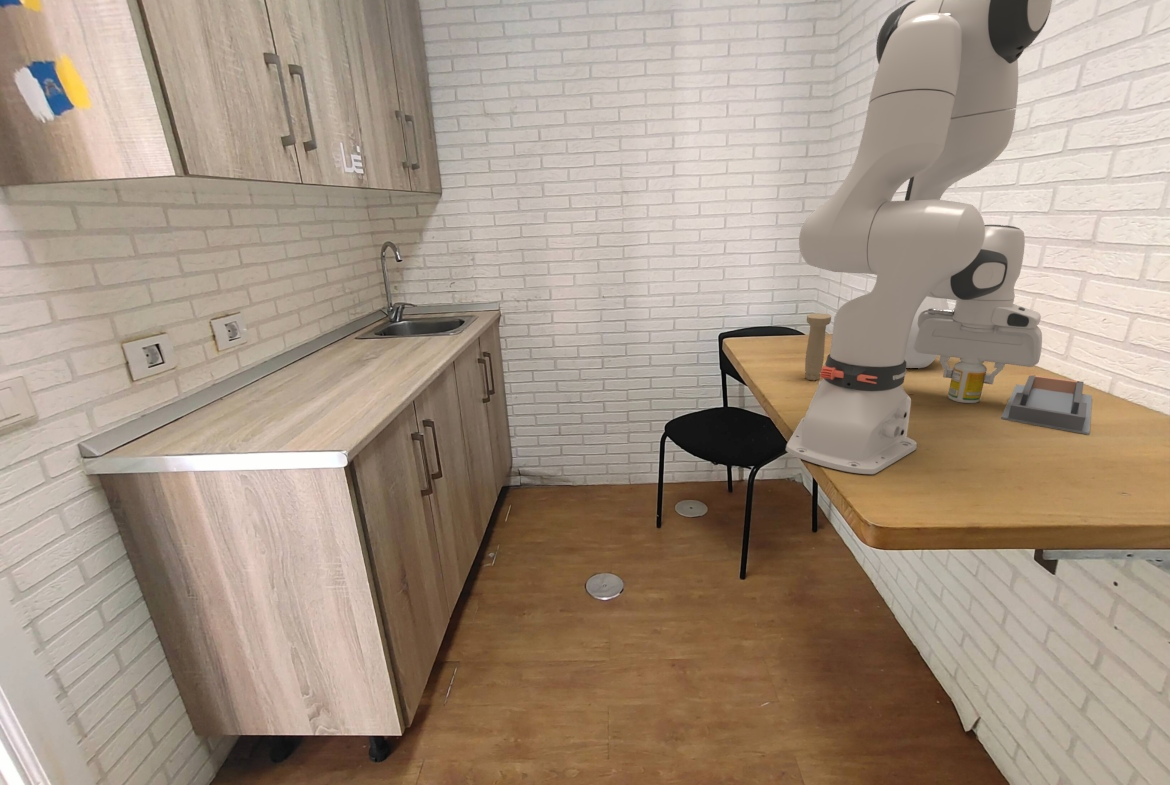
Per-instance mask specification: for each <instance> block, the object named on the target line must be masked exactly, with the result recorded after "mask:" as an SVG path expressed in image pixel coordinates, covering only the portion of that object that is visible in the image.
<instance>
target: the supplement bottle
mask: <svg viewBox="0 0 1170 785" xmlns="http://www.w3.org/2000/svg"><path fill="white" fill-rule="evenodd" d="M959 360H960V361H958V362H956V363H955V364H954V365H953V368H954V369H953V374H952V378H950V379H951V380H950V383H949V384H950V385H949V387H948V393H947V397H948V399H950V400H951V401H954V402H958V403H962V404H976V403H979V401H980V400H981V396H982V392H983V388H984V384H985V383H983V381H984V377H985V374H986V373H987V370H988V369H987V367H986V366H985V365H984V364H983V363H985V361H979V360H978V358H977V357H974V356H966V357H965V358H959Z"/></svg>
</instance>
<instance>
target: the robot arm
mask: <svg viewBox="0 0 1170 785" xmlns="http://www.w3.org/2000/svg"><path fill="white" fill-rule="evenodd" d="M1052 3H1053V0H910V1H909V2H907V3H905V4H903V5H901V6H900V7H898V8H896V9H895V10H894V11H893V12H891V13H890V14H888V16H887V18H886V20H885V21H884V23H883V24H882V26H881V28H880V29H879V32H878V36H877V39H876V48H875V51H876V60H877V63H878V66H877V70H876V74H875V77H874V81H873V85H872V89H871V93H870V98H869V102H868V106H867V111H866V117H865V121H864V127H863V130H862V135H861V140H860V144H859V148H858V151H857V153H856V154H857V155H856V157H855V160H854V163H853V165H852V167H851V169H850V171H849V172H848V174H847V176H846V178H845V179H844V181H843V182H842V183H841V185H840V186H839V187H838V188H837V189H836V191H835V192H834V194H833V195H832V196H831V197H830V198H829V199H827V201H825V202H824V203H823V204H821V205H820V206H819V207H817V208H816V209H815V210H814V211H812V212H811V213H810V214H809V215H808V217H807V218H806V220H805V221H804V223H803V224H802V227H801V228H800V233H799V237H798V245H799V252H800V254H801V257H802V258H803V260H804V261H805V263H806V264H807V265H809V266H812V267H815V268H818V269H822V270H826V271H830V272H833V273H848V274H865V275H868V274H869V275H875V276H876V280H875V284H874V287H873V288H872V290H871V291H870V292H869V293H866V294H863V295H860V296H857V297H855V298H853V299H851V300H849V301H847V302H845V303H844V304H842V306H840V307H839V308H838V310H837V311H836V313H835V315H834V318H833V326H832V333H831V334H832V335H831V344H830V351H829V354H828V355H827V356H826V360H825V362H824V365H823V366H822V370H821V373H820V374H821V376H820V379H821V380H820V381H818V385H817V387H816V390H815V393H814V395H813V397H812V398H811V401H810V404H809V406H808V408H807V410H806V413H805V416H803V417H802V418H801V419H800V420H799V423H798V425H797V426H796V427H795V429H794V431H793V433H792V435H791V437H790V438H789V440H788V441H787V443H786V445H785V451H786V452H787V453H789V454H790V455H792V456H794V457H796V458H798V459H801V460H803V461H805V462H809V463H812V464H816V465H819V466H822V467H826V468H829V469H834V470H838V471H841V472H847V473H852V474H853V473H854V474H862V475H876V474H877V473H879V472H881V471H882V470H884V469H886V468H887V467H889V466H891V465H893V464H894V463H896V462H897V461H899V460H901V459H902V458H904V457H905V456H907V455H909V454H911V453H913V452H914V451H916V450H917V445H918V442H917V441H916V440H914V439H913V438H910V437H909V436H908V430H909V423H910V422H909V421H910V415H911V414H910V413H911V405H912V399H911V397H910V396H909V395H908V394H907V392H906V391H905V389H904V387H903V384H904V382H905V379H906V378H905V377H906V374H907V369H906V361H905V360H904V358H905V352H906V347H907V342H908V337H909V333H910V329H911V326H912V322H913V319H914V316H915V314H916V312H917V310H918V308H919V306H920V305H921V303H922V302H923V300H924V299H925V298H926V297H934V298H944V299H947V300H953V301H955V305H954V308H955V310H953V309H949V310H945V309H944V310H939V309H928V310H925V311H923V312H921V313H920V315H919V317H918V323H917V324H918V327H919V328H920V329H919V331H918V334H917V337H916V340H915V344H914V349H915V350H916V352H917V353H923V354H931V355H938V356H939V362H940V365H941V367H942V369H943V374H942V377H943V378H947V379H951V378H952V374H953V369H954V367H950V366H949V360H950V358H956V359H960V358H965V357H966V356H974V357H977V358H978V360H979V361H984V362H986V363H994V366H993V367H994V370H993V371H992V372H991V373H989V372H986V374H985V377H984V381H983V383H984V384H986V385H993V384H994V381H995V377H996V376H997V375H998V374H999V373H1000V372H1001V371H1003V369H1004V368H1005V366H1006V365H1012V366H1019V367H1020V366H1021V367H1027V368H1032V367H1034V366H1036V365H1038V363H1039V362H1040V359H1041V354H1042V348H1043V333H1042V329H1041V328H1040V327H1039V326H1038V325H1039V324H1040V322H1041V317H1042V316H1041V313H1039V312H1038V311H1036V310H1033V309H1029V308H1026V307H1023V306H1020V305H1017V304H1016V303H1015V304H1014V301H1015V284H1016V283H1017V282H1018V281H1017V280H1018V279H1019V277H1020V275H1021V270H1022V266H1023V260H1024V253H1025V247H1026V246H1025V242H1026V241H1025V232H1024V231H1023V230H1022V229H1021V228H1020V227H1016V226H1012V225H1003V224H985V222H984V219H983V217H982V215H981V213H980V210H978V209H977V208H976V207H975V206H974V205H973V204H970V203H964V202H960V201H958V202H957V201H952V200H951V201H950V200H945V199H944V200H943V199H941V198H942V196H943V195H944V193H945V192H946V191H947V190H948V189H949V188H950V187H951V186H953V185H954V184H956V183H957V182H958V181H961V180H964V179H965V178H967V177H969V176H971V175H973V174H976V173H977V172H979V171H981V170H983V169H984V168H985V167H987V166H989V165H991V163H993V162H994V161H995V160H996V159H998V157H999V156H1000V155H1001V154H1002V153H1003V152H1004V151H1005V150H1006V148H1007V147H1008V145H1009V143H1010V140H1011V137H1012V134H1013V131H1014V128H1015V127H1014V126H1015V119H1016V113H1017V112H1016V111H1017V104H1018V103H1017V102H1018V92H1019V90H1018V89H1019V62H1018V61H1019V60H1018V59H1019V58H1020V57H1021V55H1022V54H1023V52H1024V51H1025V50H1026V49H1027V48H1029V46H1030V45H1032V44H1033V42H1034V41H1035V40H1036V39H1037V37H1038V36H1039V35H1040V33H1041V32H1042V30H1043V29H1044V27H1045V26H1046V23H1047V21H1048V19H1049V16H1050V12H1051V9H1052ZM908 180H909V181H908ZM907 181H908V184H907V189H906V193H905V198H904V200H893V197H894V196H895V194H896V192H897V191H898V190H899V188H900V187H901V186H902V185H903V184H905V182H907ZM925 312H928V313H929V314H928V313H925ZM953 315H954V316H953Z"/></svg>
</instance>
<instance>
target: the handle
mask: <svg viewBox="0 0 1170 785" xmlns="http://www.w3.org/2000/svg"><path fill="white" fill-rule="evenodd" d="M831 321H832V315H831V314H829V313H816V312H815V313H811V314H808V315H807V316H806V323H807V324H809V326H810V327H809V333H808V340H807V347H806V350H805V362H804V368H805V369H804V370H805V373H804V375H805V376H804V378H805V379H807V381H816V380H817V381H818V380H820V379H821V370H822V367H823V366H824V365H823V364H824V360H825V359H824V358H825V348H826V347H825V344H826V328H827V326H828V325H830V323H831Z"/></svg>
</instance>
